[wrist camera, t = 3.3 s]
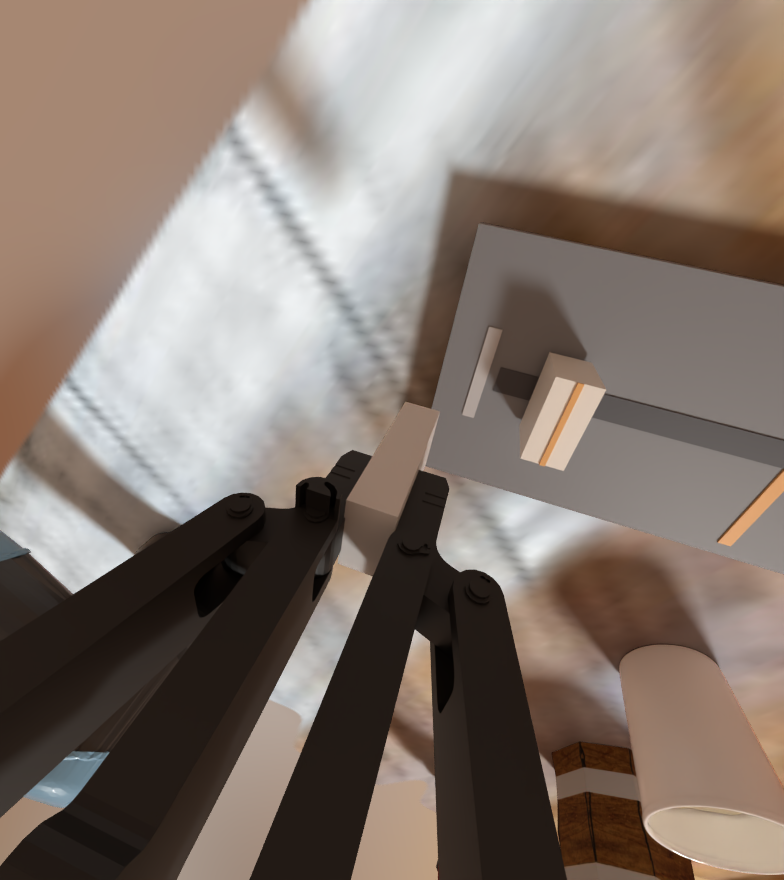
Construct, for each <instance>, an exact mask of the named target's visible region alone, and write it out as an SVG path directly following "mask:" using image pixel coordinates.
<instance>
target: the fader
mask: <svg viewBox="0 0 784 880" xmlns="http://www.w3.org/2000/svg"><path fill="white" fill-rule="evenodd" d="M605 391H606V388H605V386H604V384H603V382H602V380H601V379H600V377H599V375H598V373H597V371H596V369H595V367H594V365H593V364H592V363H591V362H587V361H583V360H579V359H575V358H571V357H567V356H563V355H559V354H555V353H551V352H549V355H548V357H547V360H546V362H545V365H544V367H543V369H542V372H541V374H540V377H539V379H538V382H537V384H536V386H535V389H534V391H533V394H532V396H531V399H530V401H529V403H528V406H527V408H526V411H525V413H524V416H523V418H522V420H521V423H520V425H519V430H520V459H524V460H527V461H531V462H534V463H538V464H539V465H541V466H544V467H545V466H548V467H551V468H555V469H558V470H562V471H564V469H565V468H566V466H567V464H568V462H569V460H570V458H571V456H572V454H573V452H574V450H575V448H576V447H577V445H578V443H579V441H580V439H581V437H582V435H583V433H584V431H585V429H586V428H587V426H588V424H589V422H590V420H591V418H592V416H593V414H594V412H595V410H596V409H597V407H598V405H599V403H600V401H601V399H602V397H603V395H604V393H605Z"/></svg>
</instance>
